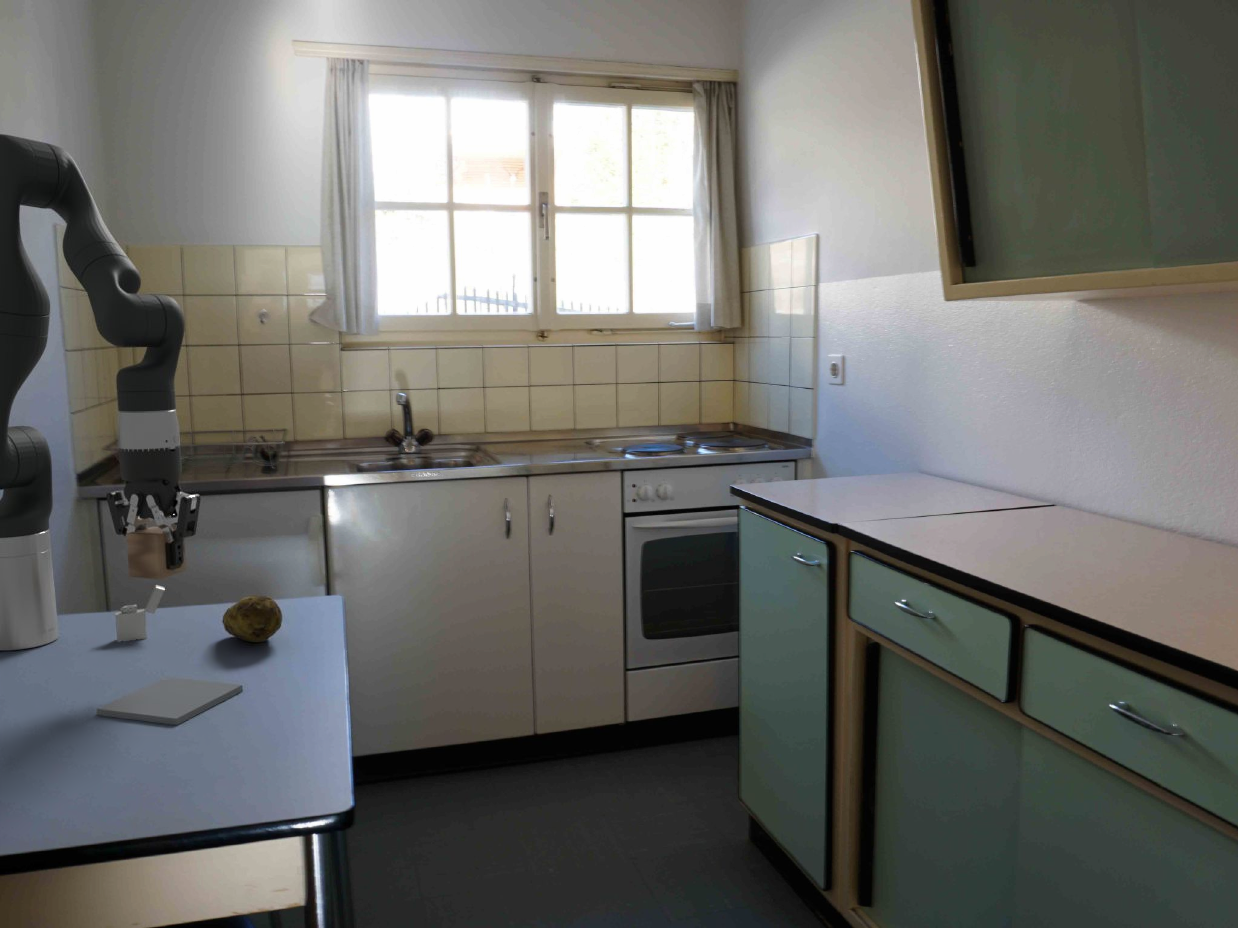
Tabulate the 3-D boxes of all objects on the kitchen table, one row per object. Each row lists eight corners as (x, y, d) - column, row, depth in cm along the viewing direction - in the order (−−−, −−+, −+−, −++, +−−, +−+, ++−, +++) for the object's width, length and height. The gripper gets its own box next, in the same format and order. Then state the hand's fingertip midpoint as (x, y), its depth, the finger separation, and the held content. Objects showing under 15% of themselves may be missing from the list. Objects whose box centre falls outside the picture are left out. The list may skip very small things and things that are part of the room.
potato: (278, 628, 157) (276, 579, 156) (286, 651, 145) (283, 599, 144) (222, 635, 154) (219, 585, 153) (225, 659, 142) (222, 605, 141)
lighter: (117, 642, 151) (113, 591, 150) (117, 639, 152) (113, 588, 151) (168, 635, 154) (164, 585, 153) (167, 632, 156) (164, 583, 155)
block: (129, 576, 133) (126, 533, 132) (156, 568, 137) (154, 526, 137) (159, 579, 131) (156, 535, 131) (186, 570, 136) (183, 528, 135)
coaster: (96, 714, 121) (96, 708, 121) (167, 682, 132) (167, 676, 132) (176, 724, 118) (176, 718, 117) (242, 690, 129) (242, 684, 129)
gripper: (84, 445, 131) (93, 570, 133) (173, 448, 126) (181, 577, 129) (128, 439, 138) (136, 558, 140) (213, 442, 134) (220, 564, 136)
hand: (157, 566), depth 134 cm, fingers closed on block, 5 cm apart
